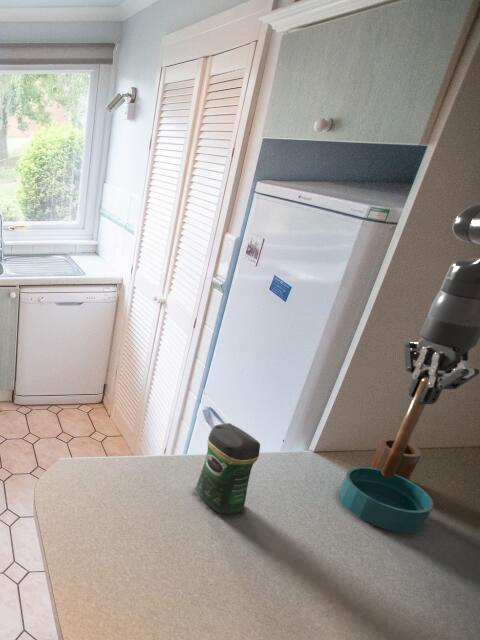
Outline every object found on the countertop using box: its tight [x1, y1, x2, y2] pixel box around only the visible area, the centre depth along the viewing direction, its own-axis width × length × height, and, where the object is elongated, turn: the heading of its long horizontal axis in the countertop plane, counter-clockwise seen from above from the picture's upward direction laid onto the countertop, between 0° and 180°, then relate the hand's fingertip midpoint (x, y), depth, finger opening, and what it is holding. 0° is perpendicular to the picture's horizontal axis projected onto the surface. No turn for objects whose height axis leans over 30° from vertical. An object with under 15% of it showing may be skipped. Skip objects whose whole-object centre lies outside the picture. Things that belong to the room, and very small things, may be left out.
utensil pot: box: [368, 437, 422, 481], centre depth 108 cm, size 7×7×9 cm
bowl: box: [338, 466, 434, 534], centre depth 99 cm, size 14×14×6 cm
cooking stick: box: [381, 377, 429, 478], centre depth 92 cm, size 2×2×24 cm
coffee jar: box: [195, 422, 261, 515], centre depth 99 cm, size 10×8×19 cm
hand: (420, 399), depth 89 cm, fingers closed on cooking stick, 2 cm apart
